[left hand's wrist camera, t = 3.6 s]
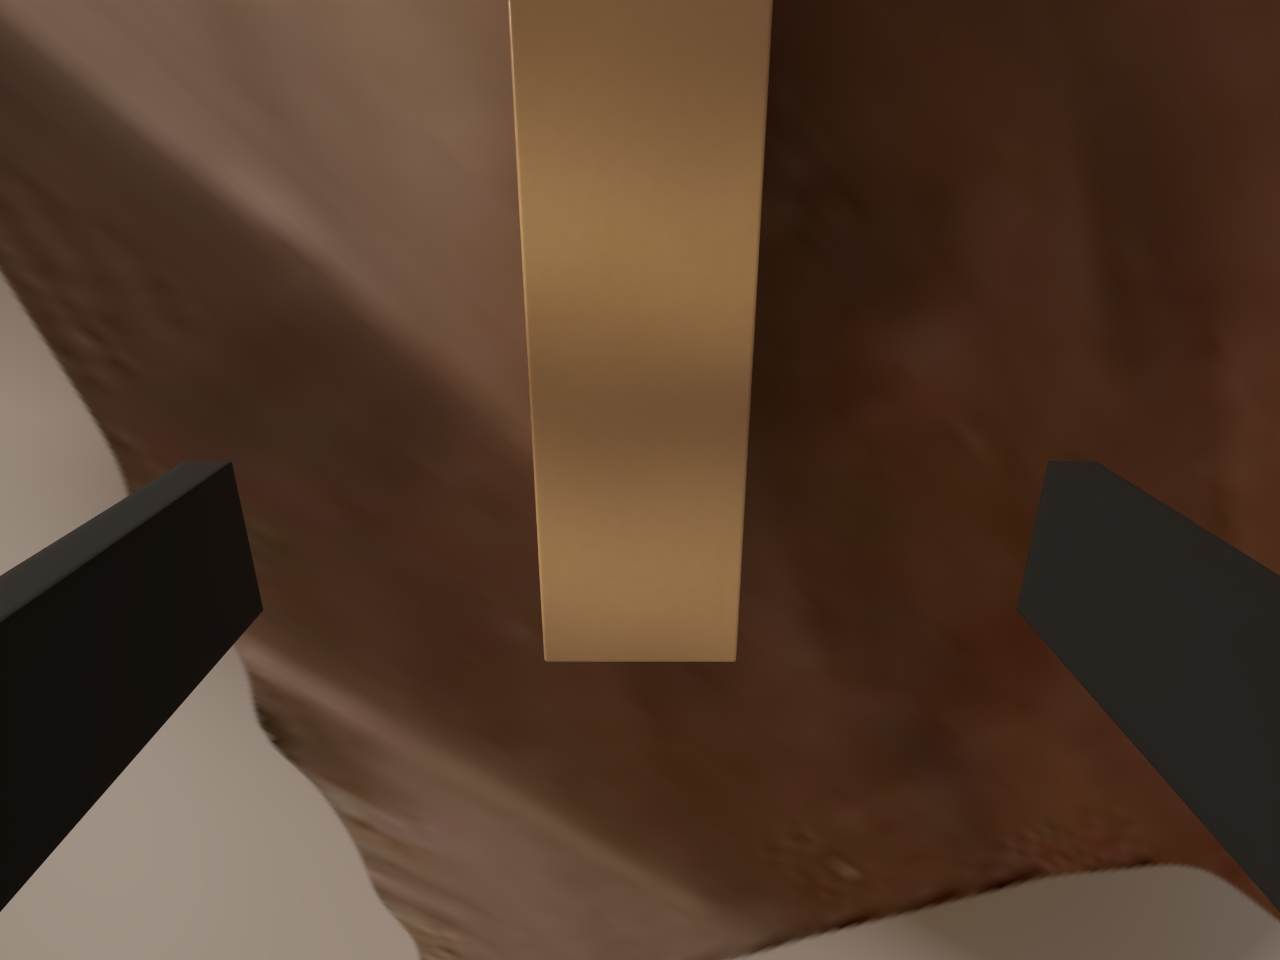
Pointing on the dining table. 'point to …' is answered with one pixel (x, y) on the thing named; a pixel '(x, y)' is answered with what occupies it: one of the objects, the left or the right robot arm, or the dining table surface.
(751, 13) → the post
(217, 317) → the dining table surface
